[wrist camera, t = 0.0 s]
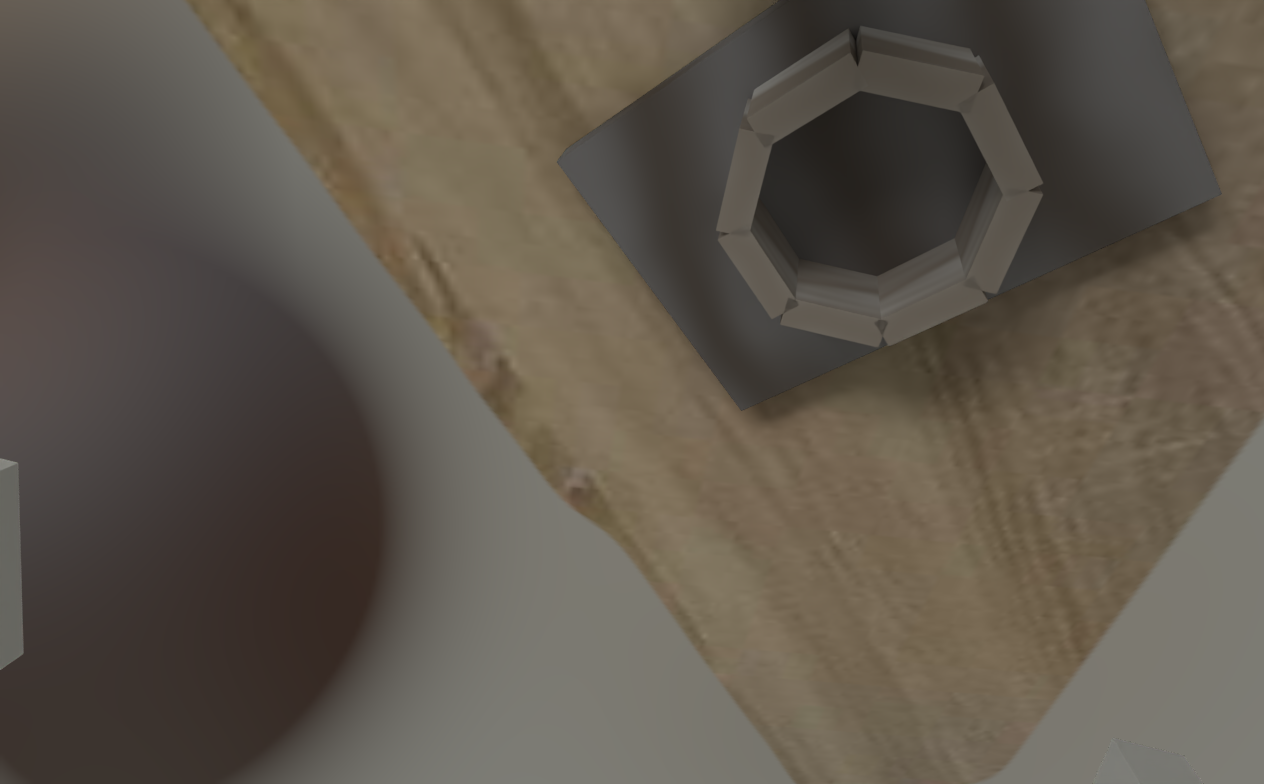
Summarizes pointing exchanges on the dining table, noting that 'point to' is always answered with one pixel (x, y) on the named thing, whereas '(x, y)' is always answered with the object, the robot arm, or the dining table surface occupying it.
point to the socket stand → (886, 170)
